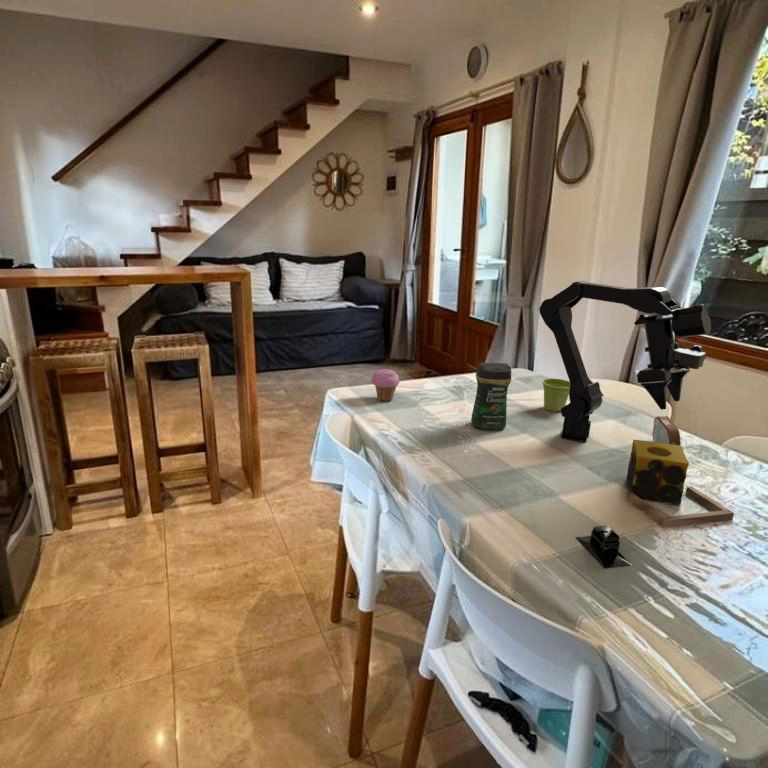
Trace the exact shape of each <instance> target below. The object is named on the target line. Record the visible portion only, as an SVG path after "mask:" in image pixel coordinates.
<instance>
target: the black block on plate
mask: <svg viewBox="0 0 768 768" xmlns="http://www.w3.org/2000/svg"><path fill="white" fill-rule="evenodd" d="M592 527H593V528H592V530H591V534H590V535H586V536H576V537H574V538H575V539H576V540H577V542H578V543H579V544H581V546H582V547H583V548H584V549H585V550H586V551H587V552H588V554H590V556H592V558H594V560H595V561H596V562H597V563H598V564H600V566H601V567H602V568H603V569H604V570H608V569H614V568H615V569H616V568H624V567H632V566H633V564H631V562H629V561H628V559H627V558H626V557H625V556H624V555H622V554H621V552H619V549H620V544H621V542H620V535H619V534H617V533H616V532H615V530H613V529H612V528H611V527H610V526H609V525H600V526H599V525H598V526H592Z"/></svg>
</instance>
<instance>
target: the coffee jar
mask: <svg viewBox="0 0 768 768" xmlns="http://www.w3.org/2000/svg"><path fill="white" fill-rule="evenodd" d="M476 369H477V370H476V372H475V379H476V383H477V385H476V386H477V387H476V395H475V398H474V399H475V400H474V405H473V409H472V412H471V413H472V414H471V420H470V421H471V424H472V426H473V427H475V428H477V429H479V430H491V431H493V430H495V431H497V430H499V431H500V430H504V429H505V428H506V426H507V402H508V401H507V399H508V398H507V397H508V389H509V385H511V384H510V383H511V382H512V367H511V366H510V364H508V363H506V362H478V365H477V368H476Z"/></svg>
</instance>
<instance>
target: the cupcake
mask: <svg viewBox="0 0 768 768" xmlns="http://www.w3.org/2000/svg"><path fill="white" fill-rule="evenodd" d="M371 384H372V385H374V386H375V391H376V396H377V399H378V400H379V401H383V402H386V401H387V402H392V401H393V398H394V396H395V392H396V390H397V389H396V388H397V387H398V386H399V384H400V379H399V375H398V374H397V372H396V371H395V370H392V369H388V368H382V369H379V370H376V371H375V372H374V373H373V375H372V378H371Z"/></svg>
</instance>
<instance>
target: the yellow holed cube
mask: <svg viewBox="0 0 768 768" xmlns="http://www.w3.org/2000/svg"><path fill="white" fill-rule="evenodd" d="M689 464H690V462H689V460H688V459H687V457H686V454H685V451H684V448H683V446H682V445H672V444H665V443H657V442H654V441H649V440H643V439H632V446H631V452H630V457H629V461H628V466H627V475H626V482H627V487H628V492H632V493H634V494H635V495H636V496H638V497H639V498H640V499H642V500H647V501H650V500H652V502H657V503H664V504H668V505H674V506H680V505H681V504H682V498H683V493H684V487H685V486H684V485H685V481H686V479H687V473H688V467H689Z"/></svg>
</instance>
